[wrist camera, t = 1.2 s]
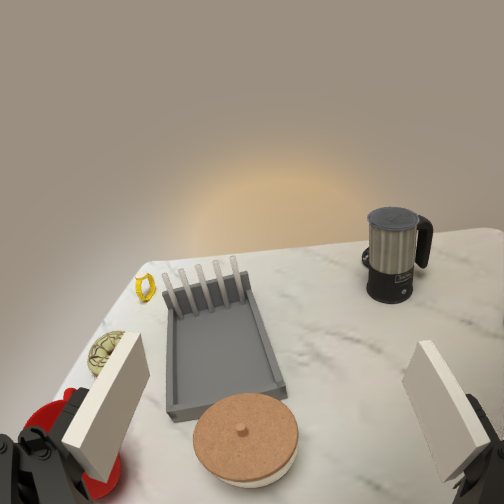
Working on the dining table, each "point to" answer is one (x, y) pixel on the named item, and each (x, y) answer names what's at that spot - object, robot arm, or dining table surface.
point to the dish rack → (216, 344)
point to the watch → (139, 279)
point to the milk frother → (395, 252)
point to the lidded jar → (247, 439)
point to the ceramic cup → (96, 488)
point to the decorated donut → (103, 350)
